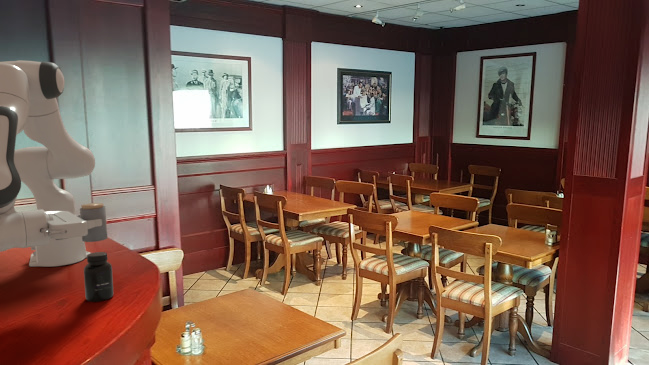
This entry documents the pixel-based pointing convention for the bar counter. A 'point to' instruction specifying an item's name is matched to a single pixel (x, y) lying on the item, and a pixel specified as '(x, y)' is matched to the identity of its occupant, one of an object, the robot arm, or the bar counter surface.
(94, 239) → the sugar jar
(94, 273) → the supplement bottle
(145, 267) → the bar counter surface
